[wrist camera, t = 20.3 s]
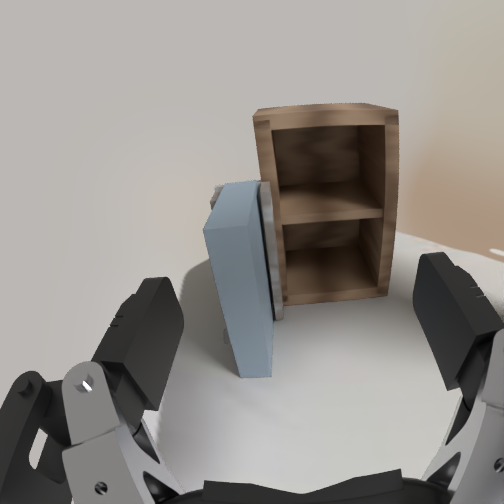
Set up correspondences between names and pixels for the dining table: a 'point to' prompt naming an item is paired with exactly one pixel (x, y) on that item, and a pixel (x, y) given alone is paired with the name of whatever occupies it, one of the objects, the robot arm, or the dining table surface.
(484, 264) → the dining table surface
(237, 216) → the door
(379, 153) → the cabinet
